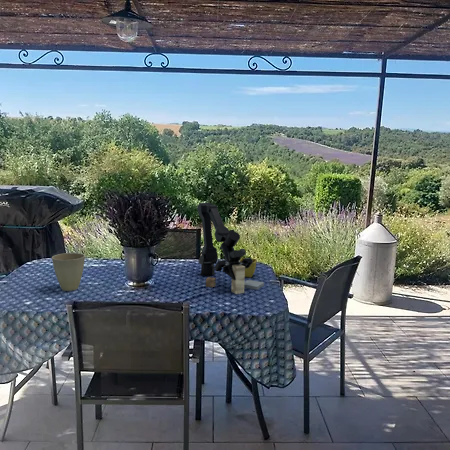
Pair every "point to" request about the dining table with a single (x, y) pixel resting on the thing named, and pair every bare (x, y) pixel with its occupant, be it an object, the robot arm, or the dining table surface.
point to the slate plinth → (253, 284)
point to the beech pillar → (238, 279)
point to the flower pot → (250, 268)
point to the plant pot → (69, 269)
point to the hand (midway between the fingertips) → (239, 279)
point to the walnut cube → (210, 282)
